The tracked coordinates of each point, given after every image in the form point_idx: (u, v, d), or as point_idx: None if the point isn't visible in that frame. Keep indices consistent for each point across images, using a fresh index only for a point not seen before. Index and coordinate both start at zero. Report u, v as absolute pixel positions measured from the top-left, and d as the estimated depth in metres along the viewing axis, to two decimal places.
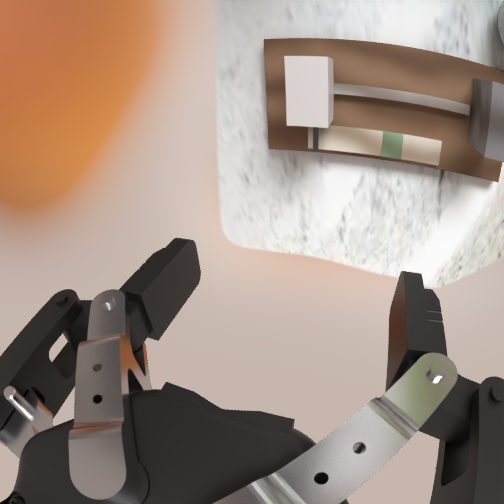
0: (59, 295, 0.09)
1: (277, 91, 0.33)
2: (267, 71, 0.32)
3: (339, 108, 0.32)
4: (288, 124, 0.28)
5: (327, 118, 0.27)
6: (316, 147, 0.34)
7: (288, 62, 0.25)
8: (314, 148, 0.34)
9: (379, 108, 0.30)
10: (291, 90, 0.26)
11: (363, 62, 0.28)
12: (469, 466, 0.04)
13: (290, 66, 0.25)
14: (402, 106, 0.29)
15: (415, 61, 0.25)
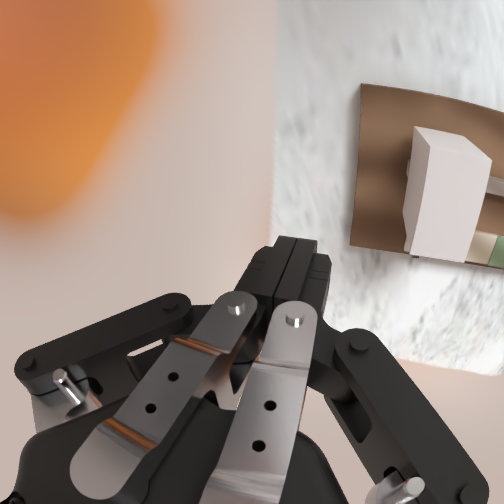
0: (170, 299, 0.09)
1: (374, 169, 0.22)
2: (362, 136, 0.21)
3: None
4: (412, 253, 0.18)
5: (466, 249, 0.16)
6: None
7: (434, 158, 0.14)
8: (414, 255, 0.24)
9: (499, 206, 0.20)
10: (430, 205, 0.16)
11: (494, 143, 0.17)
12: (372, 419, 0.06)
13: (436, 166, 0.14)
14: None
15: None
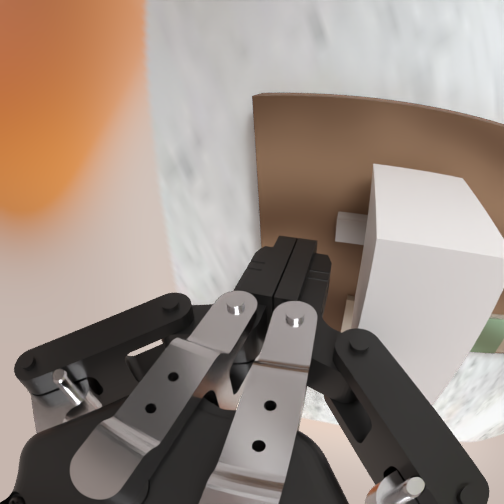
0: (170, 299, 0.09)
1: (285, 227, 0.16)
2: (262, 179, 0.15)
3: None
4: None
5: None
6: None
7: (386, 262, 0.07)
8: None
9: None
10: None
11: (490, 179, 0.11)
12: (372, 419, 0.06)
13: (389, 277, 0.07)
14: None
15: None
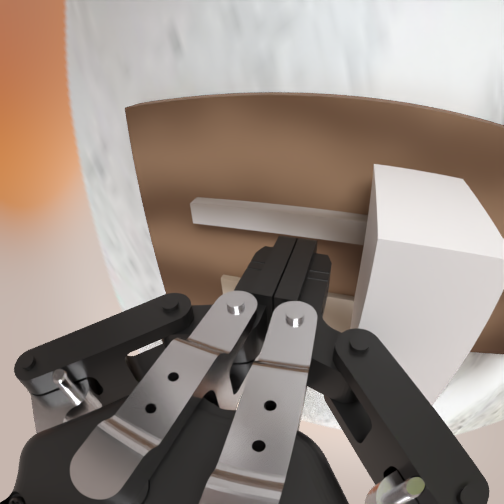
0: (170, 299, 0.09)
1: (161, 213, 0.18)
2: (139, 174, 0.17)
3: None
4: None
5: None
6: None
7: (387, 262, 0.07)
8: None
9: None
10: None
11: (336, 154, 0.13)
12: (372, 419, 0.06)
13: (390, 277, 0.07)
14: None
15: (465, 153, 0.11)
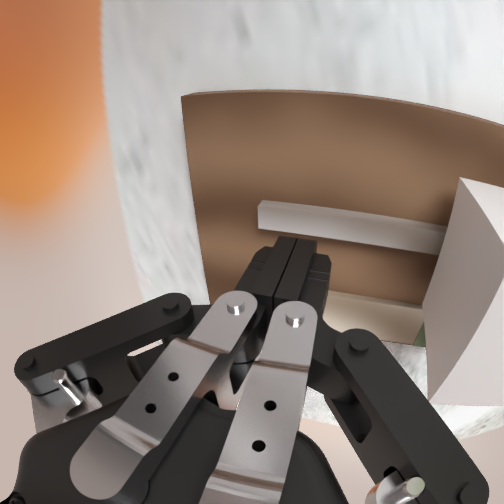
0: (170, 299, 0.09)
1: (216, 216, 0.17)
2: (193, 172, 0.16)
3: (347, 262, 0.16)
4: (432, 402, 0.10)
5: None
6: None
7: None
8: None
9: (432, 267, 0.14)
10: (480, 349, 0.08)
11: (418, 164, 0.12)
12: (372, 419, 0.06)
13: None
14: None
15: None
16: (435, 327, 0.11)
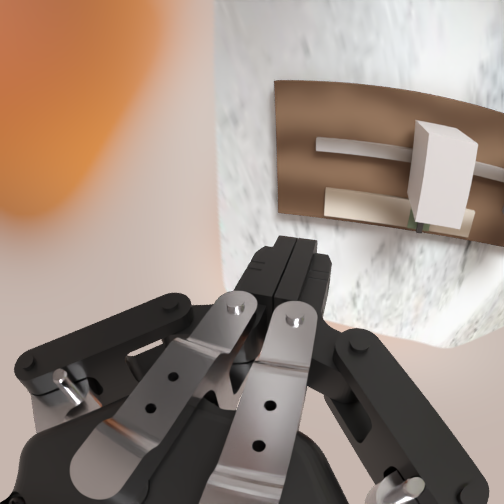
0: (170, 299, 0.09)
1: (290, 147, 0.29)
2: (278, 121, 0.28)
3: (363, 171, 0.28)
4: (417, 220, 0.21)
5: (461, 218, 0.20)
6: (420, 229, 0.27)
7: (432, 143, 0.18)
8: (418, 230, 0.28)
9: None
10: (430, 180, 0.19)
11: (395, 116, 0.24)
12: (372, 419, 0.06)
13: (434, 149, 0.18)
14: None
15: (456, 117, 0.21)
16: (413, 191, 0.23)
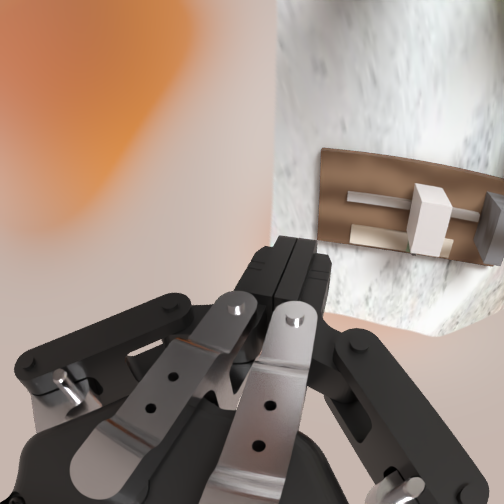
0: (170, 299, 0.09)
1: (328, 196, 0.42)
2: (321, 179, 0.41)
3: (377, 214, 0.41)
4: (412, 252, 0.35)
5: (440, 250, 0.33)
6: (414, 253, 0.41)
7: (423, 207, 0.31)
8: (413, 253, 0.41)
9: None
10: (421, 228, 0.33)
11: (401, 178, 0.37)
12: (372, 419, 0.06)
13: (424, 210, 0.32)
14: None
15: (443, 179, 0.35)
16: (410, 231, 0.37)
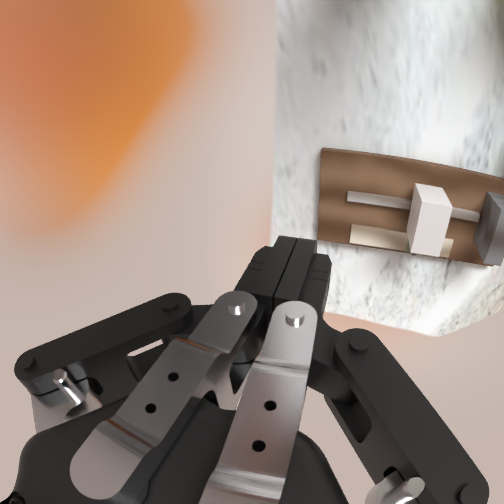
0: (170, 299, 0.09)
1: (328, 196, 0.42)
2: (321, 179, 0.41)
3: (377, 214, 0.41)
4: (412, 252, 0.35)
5: (440, 250, 0.33)
6: (414, 253, 0.41)
7: (423, 207, 0.31)
8: (413, 253, 0.41)
9: None
10: (421, 228, 0.33)
11: (401, 178, 0.37)
12: (372, 419, 0.06)
13: (424, 210, 0.32)
14: None
15: (443, 179, 0.35)
16: (410, 231, 0.37)
